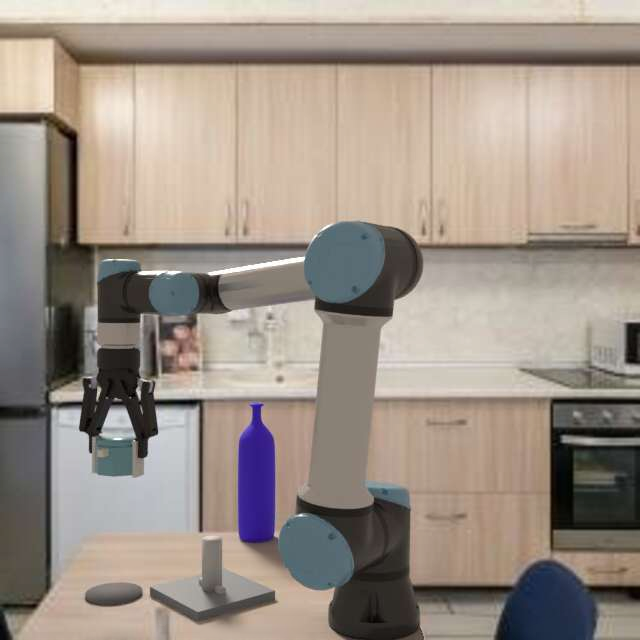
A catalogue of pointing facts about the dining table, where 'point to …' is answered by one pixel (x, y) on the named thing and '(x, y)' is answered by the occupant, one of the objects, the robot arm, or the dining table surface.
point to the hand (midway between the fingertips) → (117, 473)
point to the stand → (211, 587)
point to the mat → (113, 593)
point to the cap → (114, 455)
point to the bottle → (256, 481)
